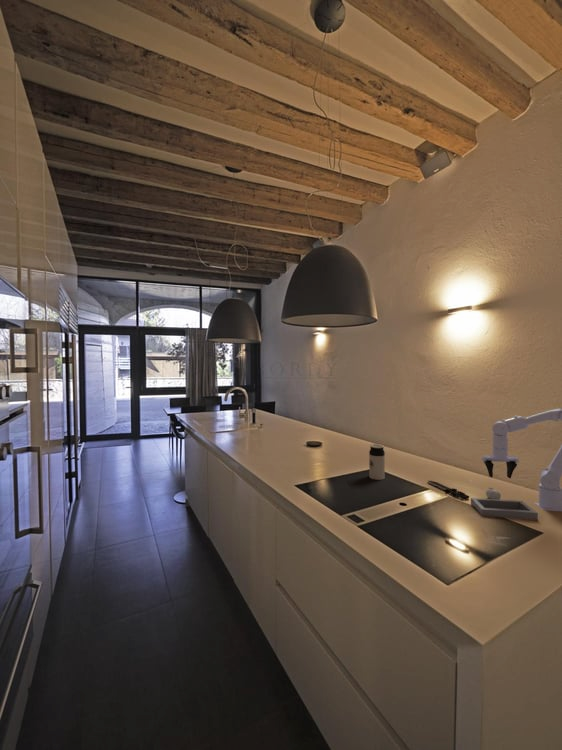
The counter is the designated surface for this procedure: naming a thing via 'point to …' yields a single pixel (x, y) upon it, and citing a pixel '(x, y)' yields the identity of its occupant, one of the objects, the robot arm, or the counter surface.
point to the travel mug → (376, 462)
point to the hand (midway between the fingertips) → (499, 477)
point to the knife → (453, 491)
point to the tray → (504, 508)
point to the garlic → (493, 494)
